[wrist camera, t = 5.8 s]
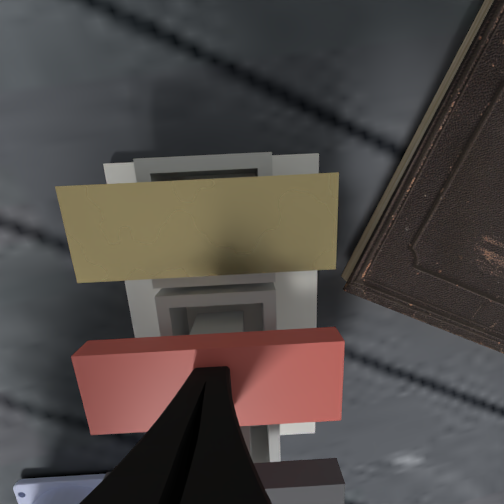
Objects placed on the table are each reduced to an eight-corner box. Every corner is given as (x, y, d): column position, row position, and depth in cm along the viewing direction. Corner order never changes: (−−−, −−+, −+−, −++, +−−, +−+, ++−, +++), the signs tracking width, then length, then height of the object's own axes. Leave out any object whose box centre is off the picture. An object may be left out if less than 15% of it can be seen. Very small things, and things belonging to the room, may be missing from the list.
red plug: (314, 356, 14) (341, 420, 10) (134, 366, 14) (90, 435, 10) (315, 296, 13) (344, 341, 9) (123, 306, 13) (70, 356, 9)
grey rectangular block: (316, 452, 15) (341, 546, 11) (146, 462, 15) (110, 560, 11) (317, 401, 14) (345, 484, 10) (136, 412, 14) (92, 499, 10)
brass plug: (310, 246, 14) (336, 269, 10) (125, 256, 14) (77, 283, 10) (310, 177, 13) (338, 172, 9) (113, 187, 13) (55, 186, 9)
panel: (312, 425, 18) (327, 478, 14) (156, 434, 18) (136, 490, 14) (315, 154, 13) (338, 143, 10) (109, 164, 13) (64, 156, 10)
